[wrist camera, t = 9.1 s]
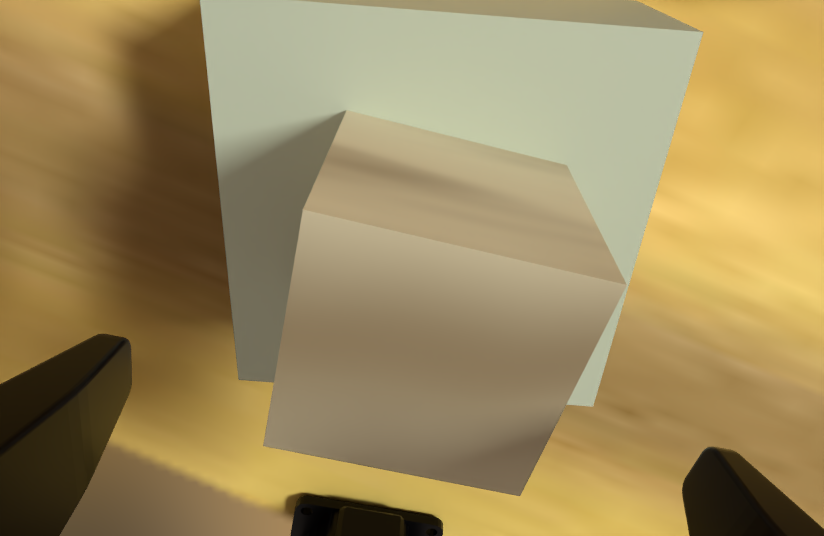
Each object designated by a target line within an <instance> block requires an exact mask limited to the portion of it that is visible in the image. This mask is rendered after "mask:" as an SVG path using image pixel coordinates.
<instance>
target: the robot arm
mask: <svg viewBox="0 0 824 536" xmlns="http://www.w3.org/2000/svg"><path fill="white" fill-rule="evenodd" d="M131 385H132V364H131V345H130V342H129V340H128V339H126V338H124V337H119V336H113V335H108V334H98V335H96V336H93V337H92V338H90V339H88V340H86V341H84V342H82V343H80V344H78V345H76V346H74V347H72V348H70V349H68V350H66V351H64V352H62V353H60V354H58V355H56V356H54V357H53V358H51V359H49V360H47V361H45V362H43V363H41V364H39V365H37V366H35V367H33V368H31V369H29V370H27V371H25V372H23V373H21V374H19V375H17V376H15V377H14V378H12V379H10V380H8V381H6V382H4V383H2V384H0V536H59V535H60V534H61V532H62V530H63V529H64V527H65V525H66V523H67V522H68V520H69V518H70V517H71V515H72V513H73V512H74V510H75V508H76V506H77V505H78V503H79V501H80V499H81V498H82V496H83V494H84V492H85V490H86V489H87V487H88V484H89V482H90V480H91V478H92V476H93V474H94V472H95V470H96V467H97V465H98V463H99V461H100V458H101V456H102V454H103V452H104V450H105V447H106V445H107V443H108V441H109V438H110V436H111V434H112V432H113V429H114V427H115V425H116V423H117V420H118V418H119V416H120V414H121V411H122V409H123V407H124V405H125V402H126V400H127V398H128V395H129V393H130V389H131ZM682 495H683V501H684V507H685V513H686V518H687V524H688V530H689V536H824V529H823V528H822V527H821V526H820V525H819V524H818V523H816V522H815V521H814V520H813V519H812V518H811V517H810V516H809V515H807V514H806V513H805V512H804V511H803V510H802V509H801V508H800V507H798V506H797V505H796V504H795V503H794V502H793V501H792V500H790V499H789V498H788V497H787V496H786V495H785V494H784V493H783V492H781V491H780V490H779V489H778V488H777V487H776V486H775V485H774V484H772V483H771V482H770V481H769V480H768V479H767V478H766V477H764V476H763V475H762V474H761V473H760V472H759V471H758V470H757V469H755V468H754V467H753V466H752V465H751V464H750V463H749V462H748V461H746V460H745V459H744V458H743V457H742V456H741V455H740V454H738V453H737V452H735V451H733V450H729V449H724V448H719V447H708V448H706V449H705V450H704V451H703V452H702V453H701V455H700V456H699V458H698V459H697V461H696V462H695V464H694V465H693V467H692V469H691V470H690V472H689V473H688V475H687V476H686V478H685V480H684V483H683V488H682ZM442 535H443V523H442V521H441V520H440V519H438V518H435V517H431V516H425V515H419V514H413V513H407V512H401V511H395V510H389V509H383V508H377V507H371V506H366V505H360V504H354V503H348V502H342V501H336V500H330V499H324V498H318V497H312V496H303V497H300V498H299V499H298V500H297V503H296V507H295V512H294V518H293V524H292V530H291V536H442Z"/></svg>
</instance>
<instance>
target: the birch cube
mask: <svg viewBox="0 0 824 536" xmlns="http://www.w3.org/2000/svg"><path fill="white" fill-rule="evenodd" d="M626 286H627V284H626V282H625V280H624V278H623V276H622V274H621V272H620V270H619V268H618V266H617V264H616V262H615V260H614V258H613V256H612V254H611V252H610V250H609V248H608V246H607V244H606V242H605V240H604V238H603V236H602V234H601V232H600V230H599V228H598V226H597V224H596V222H595V220H594V218H593V216H592V214H591V212H590V210H589V208H588V206H587V204H586V202H585V200H584V198H583V196H582V194H581V192H580V190H579V188H578V186H577V184H576V182H575V180H574V178H573V176H572V174H571V173H570V171H569V169H568V167H567V165H564V164H560V163H556V162H552V161H548V160H544V159H540V158H536V157H532V156H528V155H524V154H520V153H516V152H512V151H508V150H504V149H500V148H496V147H492V146H488V145H484V144H480V143H476V142H472V141H468V140H464V139H460V138H456V137H452V136H448V135H444V134H440V133H436V132H432V131H428V130H424V129H420V128H416V127H412V126H408V125H404V124H400V123H396V122H392V121H388V120H384V119H380V118H376V117H372V116H368V115H364V114H360V113H356V112H352V111H348V110H347V111H346V113H345V115H344V117H343V120H342V122H341V124H340V126H339V129H338V131H337V133H336V136H335V138H334V140H333V142H332V145H331V147H330V149H329V151H328V154H327V156H326V158H325V161H324V163H323V165H322V167H321V170H320V172H319V174H318V176H317V179H316V181H315V183H314V185H313V188H312V190H311V192H310V195H309V197H308V199H307V201H306V204H305V206H304V208H303V212H302V218H301V224H300V230H299V236H298V242H297V248H296V254H295V260H294V266H293V272H292V278H291V284H290V290H289V296H288V301H287V307H286V313H285V319H284V325H283V331H282V337H281V343H280V349H279V355H278V361H277V367H276V373H275V379H274V385H273V391H272V397H271V403H270V409H269V415H268V421H267V427H266V433H265V439H264V445H263V446H266V447H271V448H276V449H281V450H287V451H292V452H297V453H302V454H307V455H312V456H317V457H322V458H327V459H333V460H338V461H343V462H348V463H353V464H358V465H363V466H368V467H373V468H379V469H384V470H389V471H394V472H399V473H404V474H409V475H414V476H419V477H424V478H430V479H435V480H440V481H445V482H450V483H455V484H460V485H465V486H470V487H476V488H481V489H486V490H491V491H496V492H501V493H506V494H511V495H516V496H520V495H521V493H522V491H523V489H524V487H525V485H526V483H527V481H528V479H529V477H530V475H531V473H532V471H533V469H534V467H535V465H536V464H537V462H538V460H539V458H540V456H541V454H542V452H543V450H544V448H545V446H546V444H547V442H548V440H549V438H550V436H551V434H552V432H553V430H554V428H555V426H556V424H557V422H558V420H559V418H560V416H561V414H562V412H563V410H564V408H565V406H566V404H567V402H568V400H569V398H570V396H571V394H572V393H573V391H574V389H575V387H576V385H577V383H578V381H579V379H580V377H581V375H582V373H583V371H584V369H585V367H586V365H587V363H588V361H589V359H590V357H591V355H592V353H593V351H594V349H595V347H596V345H597V343H598V341H599V339H600V337H601V335H602V333H603V331H604V329H605V327H606V325H607V324H608V322H609V320H610V318H611V316H612V314H613V312H614V310H615V308H616V306H617V304H618V302H619V300H620V298H621V296H622V294H623V292H624V290H625V288H626Z"/></svg>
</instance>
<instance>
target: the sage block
mask: <svg viewBox="0 0 824 536" xmlns="http://www.w3.org/2000/svg"><path fill="white" fill-rule="evenodd" d="M200 6H201V16H202V26H203V35H204V45H205V55H206V65H207V75H208V84H209V94H210V104H211V114H212V124H213V133H214V143H215V153H216V163H217V173H218V182H219V192H220V202H221V212H222V222H223V231H224V241H225V251H226V261H227V271H228V280H229V290H230V300H231V310H232V320H233V329H234V339H235V349H236V359H237V369H238V378H239V380H248V381H262V382H274V379H275V373H276V367H277V361H278V355H279V349H280V343H281V337H282V331H283V325H284V319H285V313H286V307H287V301H288V296H289V290H290V284H291V278H292V272H293V266H294V260H295V254H296V248H297V242H298V236H299V230H300V224H301V218H302V212H303V208H304V206H305V204H306V201H307V199H308V197H309V195H310V192H311V190H312V188H313V185H314V183H315V181H316V179H317V176H318V174H319V172H320V170H321V167H322V165H323V163H324V161H325V158H326V156H327V154H328V151H329V149H330V147H331V145H332V142H333V140H334V138H335V136H336V133H337V131H338V129H339V126H340V124H341V122H342V120H343V117H344V115H345V113H346V111H347V110H348V111H352V112H356V113H360V114H364V115H368V116H372V117H376V118H380V119H384V120H388V121H392V122H396V123H400V124H404V125H408V126H412V127H416V128H420V129H424V130H428V131H432V132H436V133H440V134H444V135H448V136H452V137H456V138H460V139H464V140H468V141H472V142H476V143H480V144H484V145H488V146H492V147H496V148H500V149H504V150H508V151H512V152H516V153H520V154H524V155H528V156H532V157H536V158H540V159H544V160H548V161H552V162H556V163H560V164H564V165H567V167H568V169H569V171H570V173H571V174H572V176H573V178H574V180H575V182H576V184H577V186H578V188H579V190H580V192H581V194H582V196H583V198H584V200H585V202H586V204H587V206H588V208H589V210H590V212H591V214H592V216H593V218H594V220H595V222H596V224H597V226H598V228H599V230H600V232H601V234H602V236H603V238H604V240H605V242H606V244H607V246H608V248H609V250H610V252H611V254H612V256H613V258H614V260H615V262H616V264H617V266H618V268H619V270H620V272H621V274H622V276H623V278H624V280H625V282H626V284H627V286H626V288H625V290H624V292H623V294H622V296H621V298H620V300H619V302H618V304H617V306H616V308H615V310H614V312H613V314H612V316H611V318H610V320H609V322H608V324H607V325H606V327H605V329H604V331H603V333H602V335H601V337H600V339H599V341H598V343H597V345H596V347H595V349H594V351H593V353H592V355H591V357H590V359H589V361H588V363H587V365H586V367H585V369H584V371H583V373H582V375H581V377H580V379H579V381H578V383H577V385H576V387H575V389H574V391H573V393H572V394H571V396H570V398H569V400H568V402H567V404H566V405H580V406H593V405H594V401H595V398H596V394H597V391H598V388H599V384H600V381H601V377H602V374H603V371H604V367H605V364H606V361H607V357H608V354H609V350H610V347H611V344H612V340H613V337H614V333H615V330H616V327H617V323H618V320H619V316H620V313H621V310H622V306H623V303H624V299H625V296H626V293H627V289H628V286H629V282H630V279H631V276H632V272H633V269H634V265H635V262H636V259H637V255H638V252H639V248H640V245H641V242H642V238H643V235H644V231H645V228H646V225H647V221H648V218H649V214H650V211H651V208H652V204H653V201H654V198H655V194H656V191H657V187H658V184H659V181H660V177H661V174H662V170H663V167H664V164H665V160H666V157H667V153H668V150H669V147H670V143H671V140H672V136H673V133H674V130H675V126H676V123H677V119H678V116H679V113H680V109H681V106H682V102H683V99H684V96H685V92H686V89H687V85H688V82H689V79H690V75H691V72H692V68H693V65H694V62H695V58H696V55H697V52H698V48H699V45H700V41H701V38H702V35H703V32H702V31H700V30H698V29H695V28H693V27H691V26H689V25H687V24H685V23H683V22H681V21H679V20H676V19H674V18H672V17H670V16H668V15H666V14H664V13H662V12H659V11H657V10H655V9H653V8H651V7H649V6H647V5H645V4H643V3H640V2H638V1H634V0H200Z"/></svg>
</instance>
